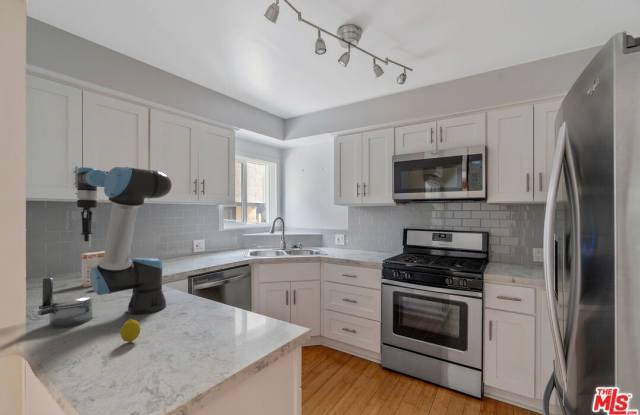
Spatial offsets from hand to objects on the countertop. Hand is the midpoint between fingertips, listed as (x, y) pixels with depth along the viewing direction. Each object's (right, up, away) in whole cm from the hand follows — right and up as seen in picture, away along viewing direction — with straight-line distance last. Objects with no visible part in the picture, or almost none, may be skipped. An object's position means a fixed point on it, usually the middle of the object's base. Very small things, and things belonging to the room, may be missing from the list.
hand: (86, 247), depth 139 cm
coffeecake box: (-23, -28, +37) cm, 51 cm away
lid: (+13, -18, -25) cm, 33 cm away
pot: (+13, -27, -25) cm, 38 cm away
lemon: (+49, -27, -42) cm, 70 cm away
